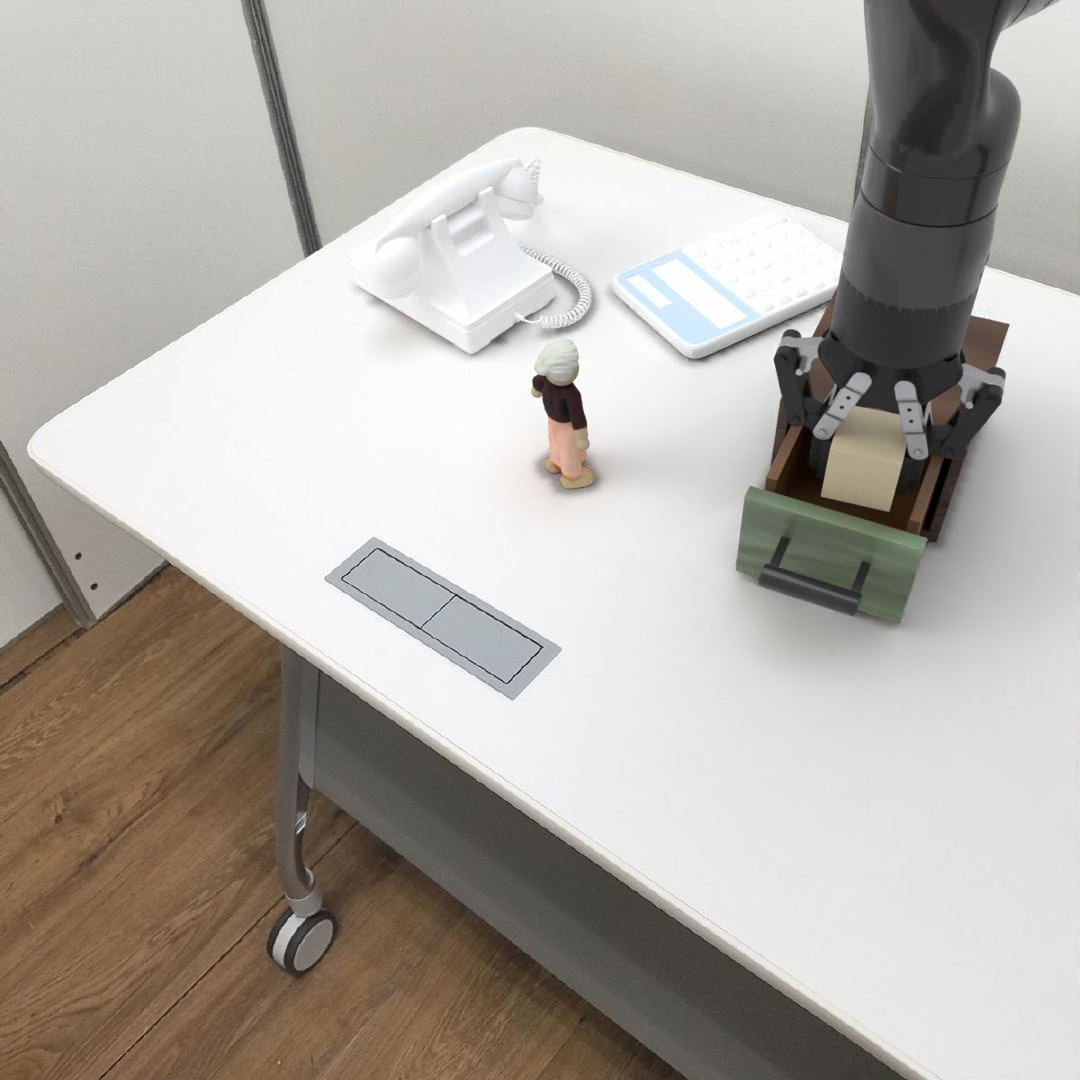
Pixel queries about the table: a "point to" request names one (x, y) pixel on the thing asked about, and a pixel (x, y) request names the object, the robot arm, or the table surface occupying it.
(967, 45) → the robot arm
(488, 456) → the table surface
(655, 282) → the calculator
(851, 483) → the block
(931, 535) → the cabinet
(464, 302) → the telephone
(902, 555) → the drawer
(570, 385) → the grandmother figurine
